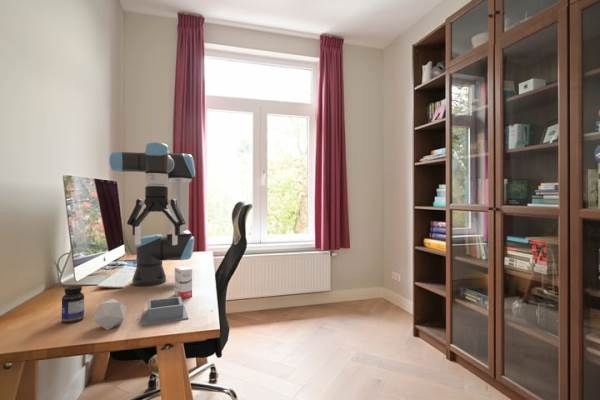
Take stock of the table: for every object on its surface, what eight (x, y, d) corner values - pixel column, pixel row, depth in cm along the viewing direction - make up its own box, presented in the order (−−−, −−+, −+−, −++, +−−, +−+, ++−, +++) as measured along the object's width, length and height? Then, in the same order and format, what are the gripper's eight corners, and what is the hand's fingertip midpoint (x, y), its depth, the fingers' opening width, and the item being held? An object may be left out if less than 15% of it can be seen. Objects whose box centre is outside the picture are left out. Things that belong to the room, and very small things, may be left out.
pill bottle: (60, 320, 107) (61, 286, 107) (82, 315, 111) (83, 284, 111) (62, 325, 102) (62, 290, 102) (85, 320, 106) (85, 287, 106)
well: (143, 312, 114) (143, 299, 114) (184, 306, 120) (184, 294, 120) (142, 325, 102) (142, 311, 102) (188, 319, 108) (188, 305, 108)
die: (111, 321, 107) (91, 302, 102) (136, 308, 107) (116, 288, 103) (104, 340, 99) (81, 320, 95) (130, 326, 100) (109, 304, 95)
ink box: (192, 296, 133) (192, 268, 134) (180, 299, 130) (180, 270, 130) (185, 292, 140) (185, 265, 140) (173, 294, 137) (174, 266, 137)
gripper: (116, 185, 112) (116, 245, 112) (186, 185, 111) (186, 246, 111) (128, 186, 120) (128, 243, 119) (194, 186, 119) (194, 243, 119)
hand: (156, 244), depth 115 cm, fingers open, 13 cm apart
